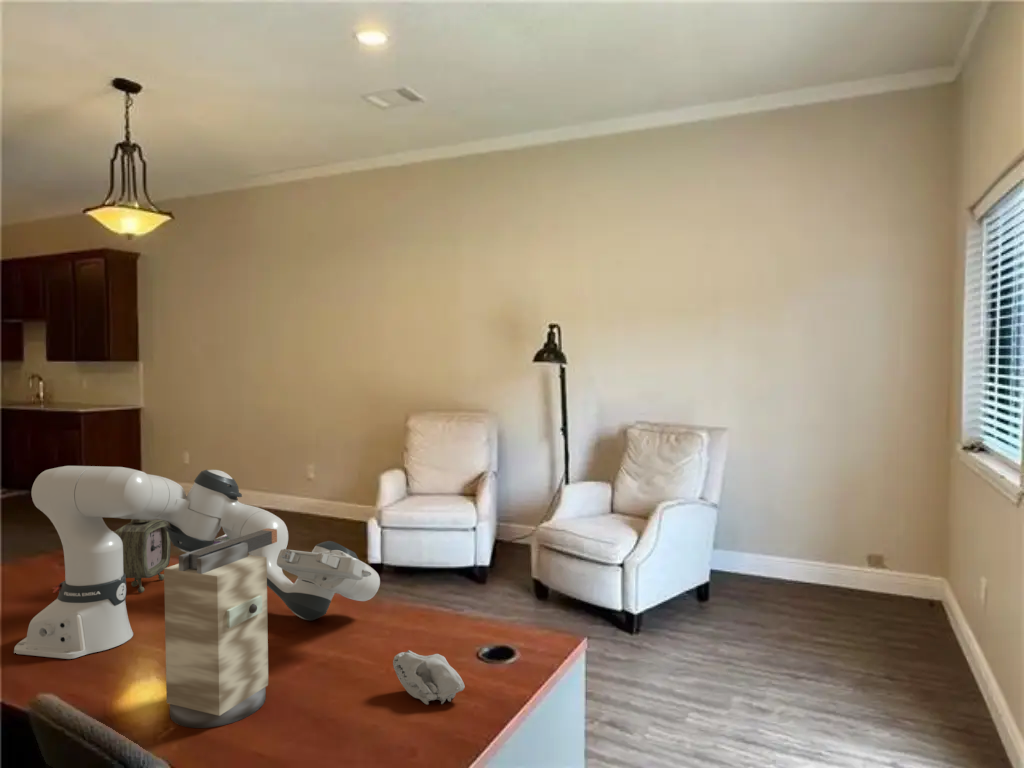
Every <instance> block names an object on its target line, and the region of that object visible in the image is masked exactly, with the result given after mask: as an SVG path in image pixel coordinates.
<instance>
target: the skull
mask: <svg viewBox="0 0 1024 768" xmlns="http://www.w3.org/2000/svg"><path fill="white" fill-rule="evenodd" d="M392 665H393V669H394V671H395V674H396V676H397V678H398V680H399V681H400V683H401V685H402V687H403V688H404V689H405V691H406V692H407V693H408V694H409V695H410V696H412V697H413V698H414V699H417V700H420V701H421V702H422V704H423V703H424V705H427V706H428V705H429V704H430V701H435V700H436V701H437V700H439V701H440V705H443V704H444V703H445V702H446V700H447V702H450V703H451V702H452V699H454V698H455V696H456V694H457V693H459V692H463V691H464V689H465V688H466V687H465V683H464V681H463V679H462V677H461V676H460V674H459V673H458V672H457V670H456V669H454V668H453V667H452V666H451V664H449V662H448V661H447V659H446V657H445V656H444V655H441V654H439V653H434V654H430V655H421V654H418V653H416V652H413V651H412V650H409V649H408V650H407V651H404V652H403V651H402V652H399V653H397V654H396V655H394V657H393V660H392Z"/></svg>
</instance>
